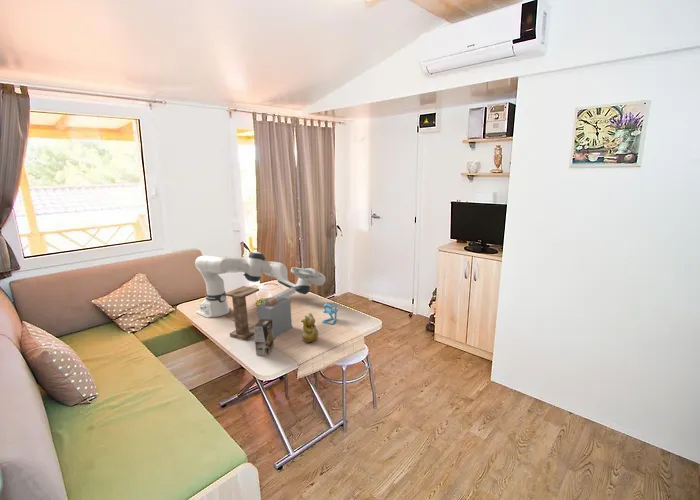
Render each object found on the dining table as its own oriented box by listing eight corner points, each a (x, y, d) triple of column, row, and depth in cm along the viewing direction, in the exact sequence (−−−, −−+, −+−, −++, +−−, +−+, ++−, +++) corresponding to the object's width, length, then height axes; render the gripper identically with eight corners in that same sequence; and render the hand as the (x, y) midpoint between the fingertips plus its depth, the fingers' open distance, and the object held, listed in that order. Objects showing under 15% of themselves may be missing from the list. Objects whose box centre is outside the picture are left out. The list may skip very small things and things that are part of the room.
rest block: (259, 335, 202) (256, 306, 198) (278, 324, 217) (276, 296, 213) (273, 339, 197) (270, 309, 193) (291, 327, 212) (289, 298, 208)
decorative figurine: (308, 335, 201) (307, 310, 197) (321, 337, 198) (320, 312, 194) (300, 343, 192) (298, 317, 189) (313, 345, 189) (312, 319, 186)
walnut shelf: (230, 336, 202) (225, 293, 196) (247, 326, 214) (243, 286, 208) (245, 340, 197) (240, 296, 191) (262, 330, 209) (258, 288, 203)
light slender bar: (264, 305, 199) (264, 300, 199) (290, 291, 220) (290, 287, 219) (271, 306, 197) (270, 301, 197) (296, 292, 218) (296, 288, 217)
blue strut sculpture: (339, 320, 220) (339, 301, 217) (332, 325, 213) (331, 306, 210) (329, 317, 224) (328, 299, 221) (321, 322, 217) (321, 304, 214)
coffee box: (267, 356, 180) (265, 326, 176) (255, 355, 181) (253, 325, 177) (274, 347, 188) (272, 319, 185) (263, 346, 190) (261, 318, 186)
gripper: (322, 281, 229) (310, 276, 218) (296, 277, 239) (284, 272, 228) (324, 272, 231) (313, 266, 219) (299, 268, 241) (287, 262, 229)
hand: (298, 269), depth 223 cm, fingers open, 8 cm apart
